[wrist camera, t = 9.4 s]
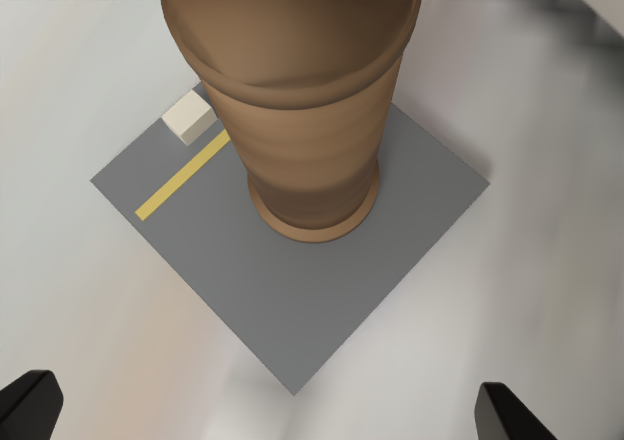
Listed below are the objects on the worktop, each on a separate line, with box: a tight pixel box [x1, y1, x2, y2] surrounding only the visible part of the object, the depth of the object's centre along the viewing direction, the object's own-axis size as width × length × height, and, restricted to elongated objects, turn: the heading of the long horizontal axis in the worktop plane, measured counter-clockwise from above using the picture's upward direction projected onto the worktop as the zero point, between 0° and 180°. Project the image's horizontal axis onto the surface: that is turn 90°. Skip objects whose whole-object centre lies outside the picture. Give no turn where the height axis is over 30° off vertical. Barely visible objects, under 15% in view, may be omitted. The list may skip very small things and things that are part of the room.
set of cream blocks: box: [161, 90, 218, 146], centre depth 22 cm, size 1×8×1 cm, turn 136°
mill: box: [161, 0, 421, 244], centre depth 15 cm, size 6×6×12 cm
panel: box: [90, 82, 490, 396], centre depth 22 cm, size 14×13×1 cm
